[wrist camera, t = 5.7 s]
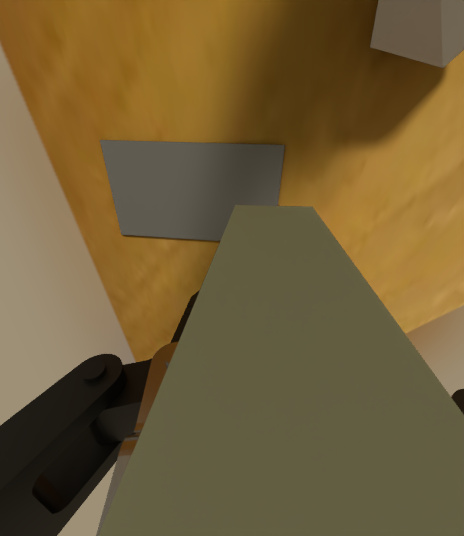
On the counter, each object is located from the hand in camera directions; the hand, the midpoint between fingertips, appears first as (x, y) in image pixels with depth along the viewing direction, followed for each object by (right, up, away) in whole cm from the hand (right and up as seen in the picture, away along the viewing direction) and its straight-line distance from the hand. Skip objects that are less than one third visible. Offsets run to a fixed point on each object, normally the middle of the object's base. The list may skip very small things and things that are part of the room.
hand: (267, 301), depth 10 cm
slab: (0, +1, +2) cm, 3 cm away
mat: (-6, +10, +18) cm, 21 cm away
